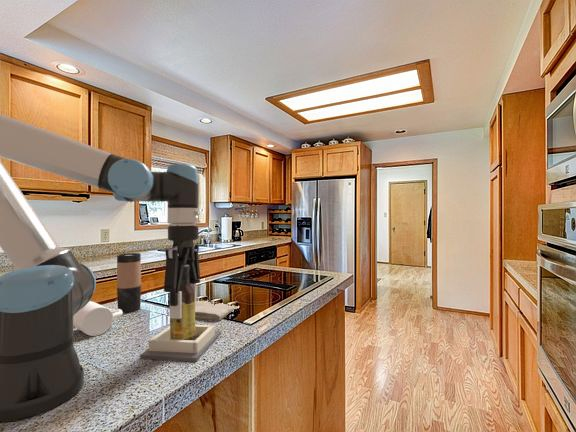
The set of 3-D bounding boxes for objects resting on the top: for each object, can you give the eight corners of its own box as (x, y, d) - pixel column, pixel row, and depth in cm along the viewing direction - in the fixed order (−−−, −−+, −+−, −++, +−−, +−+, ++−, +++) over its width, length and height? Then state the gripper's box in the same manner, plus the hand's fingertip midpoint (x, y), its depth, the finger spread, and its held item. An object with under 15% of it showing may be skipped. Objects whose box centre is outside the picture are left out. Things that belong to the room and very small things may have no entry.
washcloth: (195, 307, 113) (195, 298, 113) (238, 311, 107) (238, 303, 107) (173, 317, 102) (173, 308, 102) (219, 323, 96) (219, 313, 96)
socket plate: (196, 361, 69) (196, 347, 69) (140, 358, 71) (139, 344, 71) (220, 334, 85) (220, 322, 85) (173, 332, 87) (173, 320, 87)
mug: (82, 340, 82) (82, 310, 82) (69, 331, 88) (69, 304, 88) (128, 327, 91) (127, 301, 91) (113, 320, 97) (113, 295, 97)
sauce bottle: (166, 342, 78) (162, 266, 78) (188, 334, 82) (184, 262, 82) (178, 349, 73) (174, 268, 73) (201, 340, 78) (197, 264, 78)
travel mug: (145, 308, 109) (145, 253, 109) (124, 314, 102) (124, 256, 103) (133, 305, 113) (133, 252, 113) (112, 311, 107) (112, 254, 107)
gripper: (177, 225, 67) (178, 327, 67) (212, 223, 88) (212, 301, 88) (146, 226, 68) (146, 326, 68) (187, 223, 89) (188, 301, 89)
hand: (183, 312), depth 78 cm, fingers open, 8 cm apart
